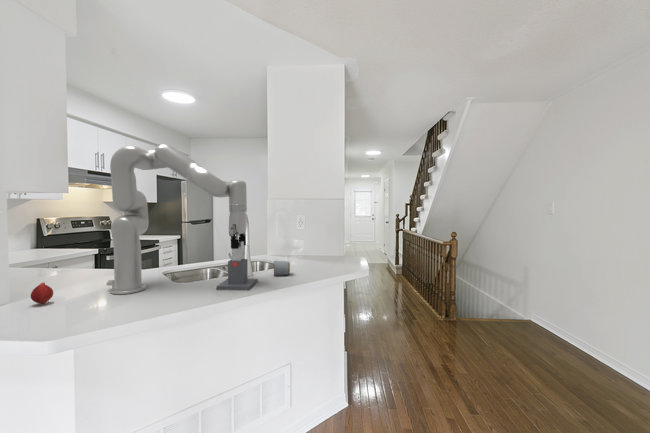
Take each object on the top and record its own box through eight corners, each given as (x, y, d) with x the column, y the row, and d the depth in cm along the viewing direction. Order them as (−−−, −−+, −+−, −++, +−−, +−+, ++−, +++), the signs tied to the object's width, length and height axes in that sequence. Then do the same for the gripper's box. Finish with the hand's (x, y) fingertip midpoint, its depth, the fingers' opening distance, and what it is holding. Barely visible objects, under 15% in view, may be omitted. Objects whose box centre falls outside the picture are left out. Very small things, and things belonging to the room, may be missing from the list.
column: (231, 282, 131) (231, 242, 130) (235, 280, 135) (234, 241, 135) (241, 282, 131) (240, 242, 130) (244, 280, 135) (244, 241, 134)
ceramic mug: (290, 276, 151) (290, 261, 151) (273, 277, 149) (274, 262, 149) (288, 272, 161) (288, 258, 161) (272, 272, 159) (273, 258, 159)
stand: (216, 289, 127) (216, 262, 126) (228, 281, 141) (228, 257, 140) (248, 290, 126) (248, 263, 125) (257, 281, 140) (257, 257, 139)
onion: (34, 308, 103) (33, 285, 102) (28, 305, 106) (28, 282, 105) (55, 303, 107) (55, 281, 107) (50, 300, 111) (49, 279, 110)
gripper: (236, 208, 141) (237, 244, 141) (221, 209, 123) (222, 249, 124) (252, 208, 140) (252, 244, 141) (239, 209, 123) (240, 250, 124)
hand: (238, 246), depth 133 cm, fingers open, 9 cm apart
